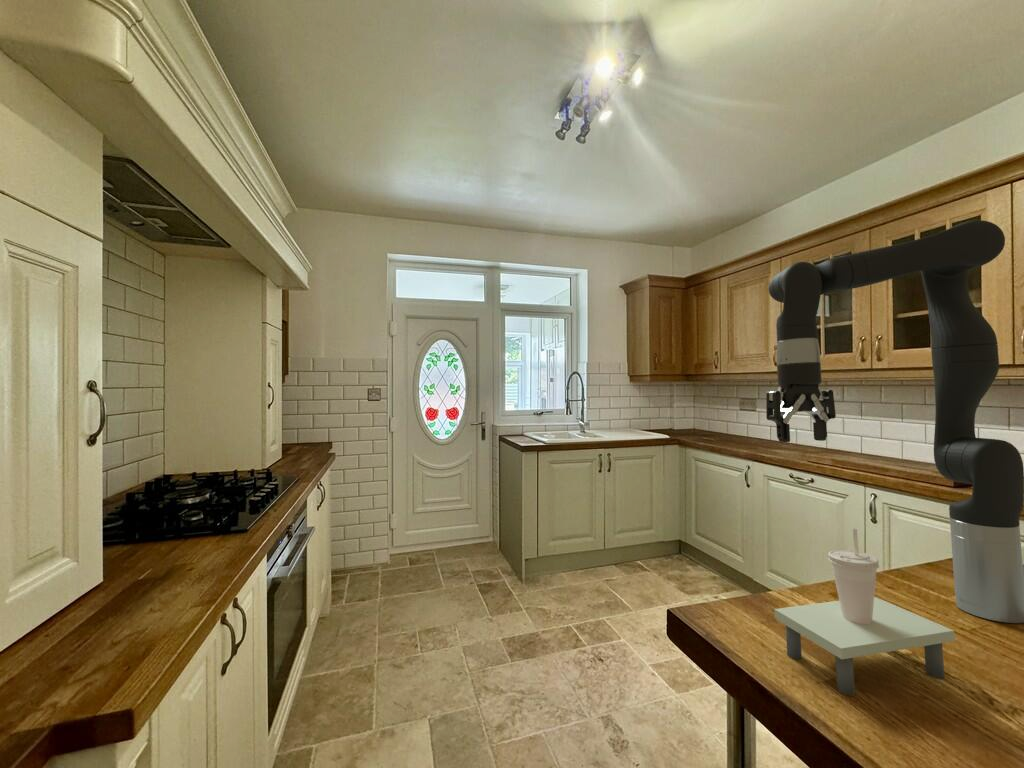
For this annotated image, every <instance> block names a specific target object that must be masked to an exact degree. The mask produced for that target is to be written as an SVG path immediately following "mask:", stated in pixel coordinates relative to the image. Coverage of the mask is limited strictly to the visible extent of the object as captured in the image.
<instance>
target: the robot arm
mask: <svg viewBox="0 0 1024 768" xmlns="http://www.w3.org/2000/svg"><path fill="white" fill-rule="evenodd" d="M1005 244H1006V237H1005V234H1004V231H1003V230H1002V229H1001V227H999V226H998V225H997V224H995V223H994V222H991V221H988V220H983V219H982V220H979V219H978V220H968V221H965V222H960V223H959V224H956V225H953V226H952V227H949V228H948V229H945V230H943V231H940V232H938V233H934V234H931V235H928V236H925V237H921V238H917V239H913V240H910V241H905V242H902V243H896V244H892V245H888V246H883V247H878V248H873V249H868V250H864V251H863V250H862V251H859V252H858V251H857V252H855V253H849V254H843V255H839V256H836V257H832V258H829V259H827V260H825V261H822V262H820V263H818V264H812V263H810V262H807V261H798V262H795V263H792V264H790V265H789V266H787V267H786V268H784V269H783V270H781V271H780V272H778V273H776V274H775V275H774V276H773V277H772V279H771V280H770V282H769V283H768V294H769V295H770V297H771V298H772V299H773V300H774V301H777V302H778V303H781V304H783V307H782V311H781V313H780V314H779V315H778V317H777V318H776V325H775V326H776V343H777V344H776V370H777V371H776V372H777V374H776V375H777V384H778V386H780V390H768V391H767V392H766V393H765V395H766V396H765V397H766V401H765V402H766V415H765V416H766V420H767V421H771V422H773V423H775V424H776V425H775V426H776V437H777V440H778V441H779V442H780V443H790V442H791V429H790V423H789V422H790V420H791V418H792V417H793V416H794V415H796V414H797V412H799V413H800V412H805V413H806V414H807V415H809V416H811V417H810V418H812V420H813V422H812V427H813V440H815V441H819V442H820V441H822V442H823V441H826V440H827V437H828V427H827V423H828V421H830V420H831V419H832V420H833V419H834V420H835V419H836V415H837V414H836V406H835V395H834V391H833V390H832V389H820V388H819V385H821V384H822V382H823V381H822V368H821V367H822V365H821V363H822V362H821V352H820V350H821V349H820V343H819V339H818V338H819V337H818V326H817V325H818V324H817V315H818V311H819V307H820V302H821V296H822V295H826V294H831V293H836V292H843V291H849V290H852V289H857V288H862V287H866V286H867V287H868V286H870V285H874V284H879V283H882V282H886V281H889V280H892V279H896V278H900V277H903V276H905V275H909V274H913V273H917V272H920V276H921V279H922V284H923V288H924V292H925V298H926V304H927V310H928V311H927V313H928V322H929V330H930V332H929V333H930V350H931V361H932V362H931V364H932V373H933V379H934V380H933V381H934V399H935V402H934V403H935V418H934V419H935V420H934V421H935V422H934V434H933V435H934V436H933V437H934V438H933V459H934V464H935V467H936V469H937V471H938V472H939V474H940V475H941V476H943V478H945V479H947V480H949V481H952V482H955V483H963V484H967V485H972V492H971V495H970V497H969V498H968V499H966V500H965V499H964V500H956V501H953V502H951V503H950V504H949V506H948V512H949V513H948V514H949V526H950V527H949V528H950V529H949V530H950V539H951V542H950V543H951V555H952V557H951V558H952V567H953V568H952V570H953V582H954V583H953V584H954V594H955V595H954V597H955V598H954V599H955V605H956V607H957V608H958V609H960V610H962V611H963V612H966V613H968V614H970V615H973V616H976V617H979V618H982V619H986V620H990V621H996V622H1000V623H1007V624H1008V623H1010V624H1022V623H1024V563H1023V552H1022V541H1021V528H1020V517H1021V514H1022V512H1023V509H1024V462H1023V459H1022V455H1021V454H1020V452H1019V450H1018V448H1017V447H1016V446H1015V445H1014V444H1012V443H1011V442H1009V441H1006V440H1004V439H1003V440H1002V439H998V438H997V439H996V438H985V437H984V438H983V437H976V428H975V422H976V421H975V419H976V412H977V410H978V406H980V403H981V401H982V399H983V398H984V397H985V395H986V394H987V392H988V391H989V389H990V388H991V386H992V385H993V383H994V381H995V380H996V378H997V376H998V373H999V369H1000V359H999V357H1000V356H999V345H998V338H997V335H996V331H995V330H994V329H993V328H992V325H991V324H990V323H989V322H988V320H986V318H985V317H984V315H983V314H982V313H981V312H980V311H979V310H978V309H977V307H976V306H975V305H974V303H973V302H972V299H971V297H970V292H969V286H968V285H969V284H968V271H971V270H975V269H977V268H980V267H982V266H984V265H986V264H989V263H990V262H992V261H993V260H995V259H997V257H998V256H999V255H1000V254H1001V253H1002V252H1003V250H1004V248H1005Z"/></svg>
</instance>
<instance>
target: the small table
mask: <svg viewBox="0 0 1024 768" xmlns="http://www.w3.org/2000/svg"><path fill="white" fill-rule="evenodd" d="M774 619H775V620H777V621H778V622H780V623H782V624H783V625H784V626H785V637H786V638H785V640H786V654H787V656H788V657H789V658H791V659H793V660H801V659H802V658H803V657H802V639H801V636H803V637H804V638H806V639H807V640H809V641H811V642H812V643H814V644H816V645H818V646H819V647H821V648H822V649H824V650H826V651H827V652H829V653H830V654H832V655H834V656H835V672H836V687H837V691H838V692H839V693H841V694H843V695H845V696H849V697H850V696H855V695H856V690H855V689H856V687H855V673H854V658H859V657H866V656H872V655H877V654H878V655H879V654H884V653H889V652H896V651H900V650H901V651H902V650H908V649H914V648H920V647H924V662H925V663H924V664H925V673H926V675H928V676H929V677H931V678H933V679H938V680H944V679H945V668H944V667H945V665H944V652H943V651H944V650H943V649H944V648H943V644H945V643H950V642H951V643H952V642H955V641H956V640H955V630H954V629H951V628H949V627H947V626H944V625H942V624H939V623H937V622H935V621H934V620H933V621H932V620H931V619H928V618H926V617H923V616H922V615H918V614H916V613H914V612H913V611H912V612H911V611H909V610H907V609H904V608H902V607H900V606H898V605H895V604H894V603H890V602H889V601H886V600H883V599H881V598H879V597H877V596H874V605H873V617H872V623H871V624H857V623H854V622H851V621H848V620H846V619H845V618H844V617H843V616H842V611H841V606H840V602H839V600H834V601H827V602H826V601H825V602H818V603H811V604H810V603H809V604H804V605H803V604H802V605H795V606H789V607H787V606H786V607H780V608H774Z"/></svg>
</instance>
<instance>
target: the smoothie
mask: <svg viewBox="0 0 1024 768" xmlns="http://www.w3.org/2000/svg"><path fill="white" fill-rule="evenodd" d="M852 540H853V541H852V542H853V543H852V544H853V550H845V549H835V550H831V551H829V552H828V558H827V560H829V562H831V567H832V572H833V577H834V582H835V586H836V590H837V591H836V592H837V597H838V601H839V602H840V606H841V611H842V616H843V617H844V618H845V619H846V620H848V621H851V622H854V623H857V624H871V623H872V617H873V605H874V597H875V591H876V580H877V579H876V578H877V569H879V568H880V565H879V559H878V558H877V557H875V556H873V555H871V554H868V553H864V552H860V551H859V541H858V529H857V528H855V527H853V528H852Z"/></svg>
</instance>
